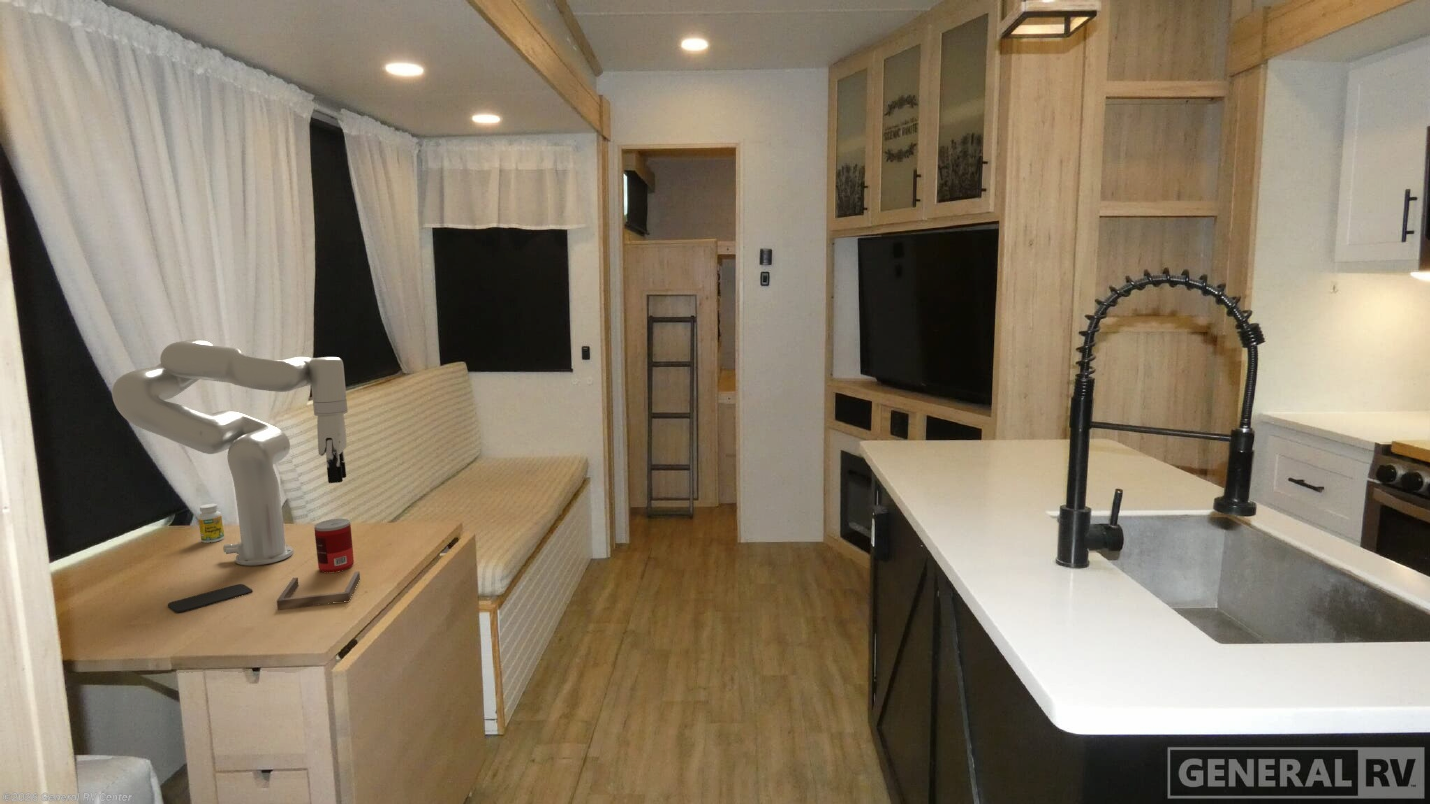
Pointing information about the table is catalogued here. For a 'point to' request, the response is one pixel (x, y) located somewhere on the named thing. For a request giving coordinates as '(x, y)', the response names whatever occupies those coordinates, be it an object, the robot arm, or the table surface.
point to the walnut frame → (303, 601)
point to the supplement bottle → (210, 523)
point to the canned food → (334, 545)
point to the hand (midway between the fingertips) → (337, 479)
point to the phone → (209, 598)
